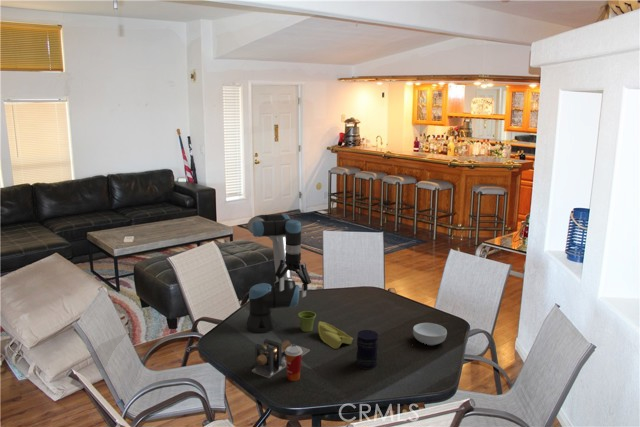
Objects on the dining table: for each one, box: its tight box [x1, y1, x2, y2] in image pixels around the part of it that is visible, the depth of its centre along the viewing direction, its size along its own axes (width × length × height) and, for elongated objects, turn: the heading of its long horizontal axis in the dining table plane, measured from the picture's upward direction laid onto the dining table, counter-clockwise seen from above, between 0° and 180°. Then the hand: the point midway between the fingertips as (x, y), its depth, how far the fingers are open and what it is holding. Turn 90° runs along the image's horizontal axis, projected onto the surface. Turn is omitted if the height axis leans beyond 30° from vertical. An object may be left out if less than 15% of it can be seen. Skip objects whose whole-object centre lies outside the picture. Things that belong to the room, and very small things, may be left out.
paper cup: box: [285, 345, 303, 382], centre depth 244 cm, size 8×8×14 cm
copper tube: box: [256, 339, 292, 366], centre depth 254 cm, size 20×5×5 cm, turn 146°
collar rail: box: [251, 338, 311, 379], centre depth 259 cm, size 32×10×13 cm, turn 146°
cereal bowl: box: [412, 322, 448, 346], centre depth 283 cm, size 17×17×7 cm
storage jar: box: [356, 329, 379, 370], centre depth 258 cm, size 10×10×15 cm
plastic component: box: [317, 321, 354, 350], centre depth 283 cm, size 20×7×10 cm
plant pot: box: [297, 310, 317, 333], centre depth 294 cm, size 9×9×9 cm
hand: (292, 293), depth 273 cm, fingers open, 13 cm apart
